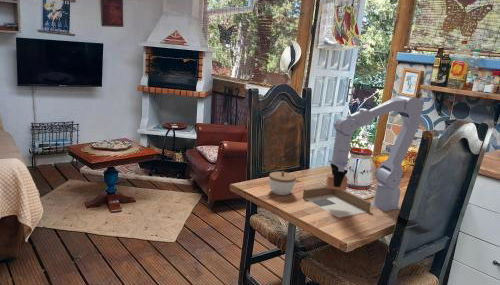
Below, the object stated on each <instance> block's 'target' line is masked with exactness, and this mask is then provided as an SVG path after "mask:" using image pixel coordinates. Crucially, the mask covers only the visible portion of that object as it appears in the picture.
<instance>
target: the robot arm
mask: <svg viewBox="0 0 500 285" xmlns="http://www.w3.org/2000/svg"><path fill="white" fill-rule="evenodd" d="M423 109H424V105H423V103H422V100H420V99H419V98H418V97H413V96H407V95H403V94H399V95H396V96H394V97H391V98H390V99H389V100H387V101H385V102H382V103H381V104H379V105H378V104H377V106H374V107H373V108H371V109H367V108H359V109H358V111H356V112H354V113H351V114H350V113H348V114H347V115H346V117H345V116H342V117H341V116H340V117H338V118H337V120H336V121H335V123H334V124H333V127H334V130H335V136H334V143H333V150H332V155H331V156H332V157H331V159H330V158H329V159H328V163H330V164H329V165H330V167H331V174H333V175H334V187H340V186H341V183H342V180H343V178H344V176H345V175H346V176H347V174H348V169H345V168H346V167H347V166H348V165H349V162H348V160H349V154H350V146H351V140H352V135H353V134H354V133H355V131H356V130H358V129H360V128H362V127H365V126H367V125H369V124H372V122H373V119H375V118H378V117H380V116H383V115H386V114H389V113H391V112H397V114H399V116H400V117H401V119H402V121H403V123H402V125H401V128H400V131H399V132H398V134H397V136H396V139H395V140H394V143H393V145H392V148H391V150H390V152H389V154H388V157H387V159H386V160H384V161H382V162H381V163H380V165H379V166H378V167H377V168H376V169H375V171H374V178H375V179H376V185H375V186H376V187H375V192H374V198H373V201H372V202H371V205H370V206H373V207H375V208H377V209H379V210H381V211H383V212H385V211H387V212H388V211H392V210H399V209H400V206H399V202H400V197H401V189H400V187H399V186H400V185H401V183H402V175H403V173H404V170H403V168H402V163H403V162H404V160H405V157H406V155H407V153H408V152H409V149H410V146H411V144H412V142H413V139H414V137H415V135H416V134H417V132H418V129H419V127H420V125H421V120H422V112H423Z"/></svg>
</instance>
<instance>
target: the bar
mask: <svg viewBox="0 0 500 285" xmlns="http://www.w3.org/2000/svg"><path fill="white" fill-rule="evenodd" d="M326 175H327V176H326V184H325V186H327V188H330V189H338V190H345V191H347V188H348V181H349V178H348V177H347V174H346V175H345V176H344V178H343V180H342V183H341V186H340V187H334V175H333V174H332V173H327V174H326Z"/></svg>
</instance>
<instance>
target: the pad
mask: <svg viewBox="0 0 500 285" xmlns="http://www.w3.org/2000/svg"><path fill="white" fill-rule="evenodd" d="M311 202H313V203H315V204H316V205H315V204H314V205H315V206H317V205H318V206H320V207H321V206H326V205H332V204H336V203H334V202H332V201H330V200H328V199H320V200H314V201H311ZM311 202H310V203H311ZM313 203H312V204H313ZM318 206H317V207H318ZM320 207H319V208H320Z"/></svg>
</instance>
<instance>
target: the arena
mask: <svg viewBox="0 0 500 285" xmlns="http://www.w3.org/2000/svg"><path fill="white" fill-rule="evenodd" d="M302 199H304V200H306V201H308V202H309V203H312V204H313V205H315V206H317V207H318V208H320V209H322V210H324V211H325V212H328V213H329V214H331V215H333V216H335V217H337V218H338V219H339V218H344V217H348V216H352V215H353V216H354V215H358V214H363V213H368V212H370V210H371V206H372V205H371V203H372V202H371V201H370V200H366V199H365V198H362V197H359V196H357V195H356V194H354V193H351V192H349V191H347V190H338V189H330V188H327V186H326V185H325V186H319V187H318V186H317V187H311V188H304V189H303V192H302ZM320 199H328V200H330V201H332V202H334V203H336V204H332V205H326V206H321V207H320V206H318V205H316V204H315V203H313V202H311V201H314V200H320Z"/></svg>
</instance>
